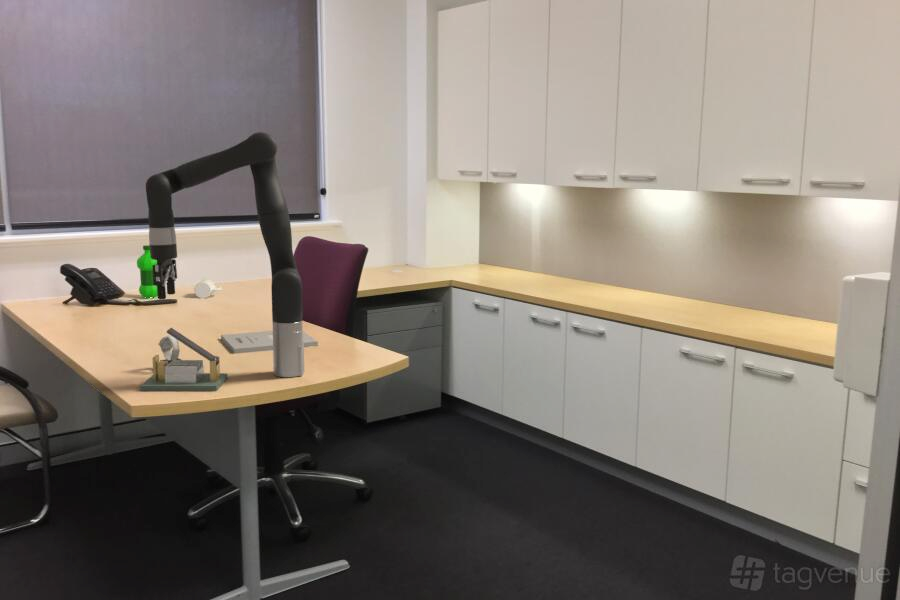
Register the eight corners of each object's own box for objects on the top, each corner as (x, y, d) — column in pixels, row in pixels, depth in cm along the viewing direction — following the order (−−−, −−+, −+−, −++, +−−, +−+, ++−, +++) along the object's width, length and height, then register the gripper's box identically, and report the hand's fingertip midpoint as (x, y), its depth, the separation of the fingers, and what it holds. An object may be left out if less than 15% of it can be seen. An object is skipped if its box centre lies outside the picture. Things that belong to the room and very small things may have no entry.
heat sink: (204, 375, 247) (203, 359, 246) (196, 383, 238) (195, 367, 237) (174, 375, 246) (173, 359, 245) (165, 383, 237) (164, 367, 236)
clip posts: (220, 377, 245) (220, 354, 244) (216, 381, 240) (215, 358, 238) (158, 376, 244) (157, 354, 243) (152, 381, 239) (151, 358, 238)
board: (227, 378, 250) (227, 373, 249) (216, 390, 236) (216, 386, 235) (155, 377, 249) (155, 373, 248) (140, 390, 235) (139, 385, 235)
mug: (194, 298, 387) (193, 282, 386) (199, 295, 397) (198, 279, 395) (219, 298, 388) (219, 282, 387) (223, 295, 398) (223, 279, 396)
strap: (216, 362, 243) (219, 358, 243) (213, 365, 240) (216, 360, 239) (169, 330, 241) (172, 326, 241) (165, 333, 237) (168, 329, 237)
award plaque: (221, 340, 302) (221, 334, 302) (299, 333, 315) (299, 328, 315) (234, 354, 281) (234, 348, 280) (317, 347, 294) (317, 341, 293)
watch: (174, 365, 263) (172, 332, 261) (185, 370, 258) (184, 337, 256) (157, 368, 259) (156, 335, 258) (168, 373, 254) (167, 339, 252)
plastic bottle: (157, 295, 394) (155, 244, 390) (164, 298, 386) (161, 246, 381) (136, 296, 389) (133, 245, 384) (142, 300, 380) (139, 247, 376)
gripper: (167, 245, 231) (171, 300, 234) (183, 239, 245) (186, 292, 248) (141, 245, 231) (145, 301, 234) (158, 240, 245) (162, 292, 248)
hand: (166, 296), depth 241 cm, fingers open, 8 cm apart
